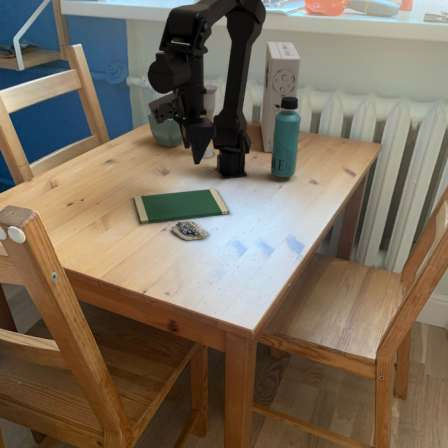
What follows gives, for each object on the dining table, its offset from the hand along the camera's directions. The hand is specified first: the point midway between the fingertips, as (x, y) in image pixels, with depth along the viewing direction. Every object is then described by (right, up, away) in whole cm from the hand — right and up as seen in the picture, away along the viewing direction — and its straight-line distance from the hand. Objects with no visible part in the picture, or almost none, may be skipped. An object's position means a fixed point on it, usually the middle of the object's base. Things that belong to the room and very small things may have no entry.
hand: (191, 156), depth 107 cm
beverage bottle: (+22, 0, +19) cm, 29 cm away
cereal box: (+23, +17, +42) cm, 50 cm away
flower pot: (-9, +14, +37) cm, 40 cm away
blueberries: (0, -18, -4) cm, 18 cm away
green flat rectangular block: (-3, -10, +5) cm, 12 cm away
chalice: (+1, +9, +31) cm, 32 cm away
